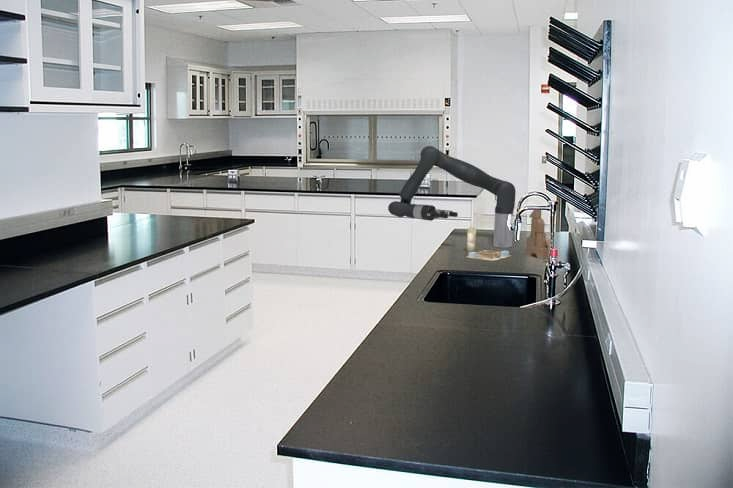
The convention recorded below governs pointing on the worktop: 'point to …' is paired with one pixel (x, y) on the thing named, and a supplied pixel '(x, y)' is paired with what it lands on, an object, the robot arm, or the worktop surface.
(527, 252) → the wooden toy
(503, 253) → the wing piece
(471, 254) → the tail piece
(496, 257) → the jig
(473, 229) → the fuselage dowel
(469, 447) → the worktop surface
